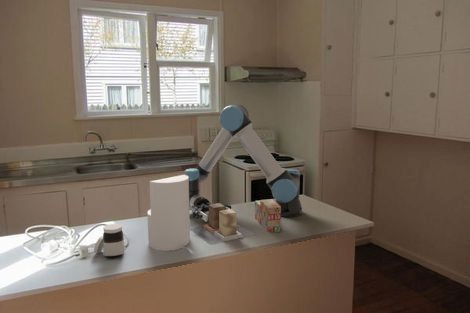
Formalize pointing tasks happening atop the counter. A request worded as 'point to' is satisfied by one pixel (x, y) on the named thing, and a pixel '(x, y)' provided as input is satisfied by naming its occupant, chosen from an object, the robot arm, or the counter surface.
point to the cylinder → (169, 213)
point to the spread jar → (111, 242)
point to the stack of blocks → (268, 214)
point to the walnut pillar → (215, 214)
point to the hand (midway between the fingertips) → (220, 216)
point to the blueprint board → (215, 237)
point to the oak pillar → (227, 222)
